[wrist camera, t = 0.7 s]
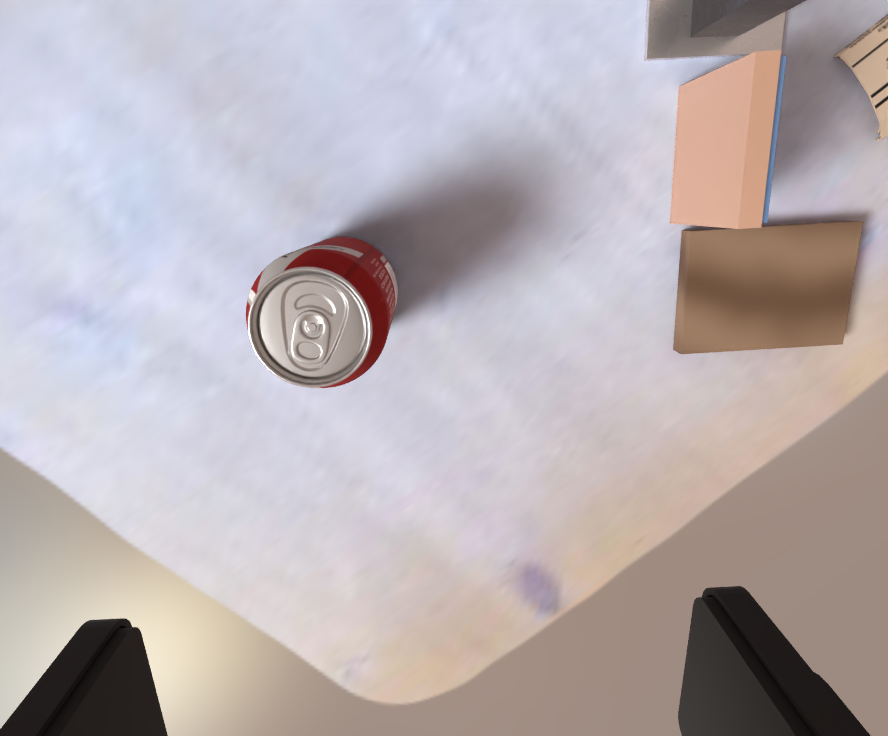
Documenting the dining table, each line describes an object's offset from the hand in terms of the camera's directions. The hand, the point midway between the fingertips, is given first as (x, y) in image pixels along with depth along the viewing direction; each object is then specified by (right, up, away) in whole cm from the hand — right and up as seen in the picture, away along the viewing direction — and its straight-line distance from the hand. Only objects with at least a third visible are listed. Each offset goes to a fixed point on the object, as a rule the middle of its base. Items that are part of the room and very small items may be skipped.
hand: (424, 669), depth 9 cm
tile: (+16, +18, +25) cm, 35 cm away
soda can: (-6, +10, +27) cm, 29 cm away
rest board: (+21, +11, +27) cm, 36 cm away
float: (+16, +26, +22) cm, 38 cm away
